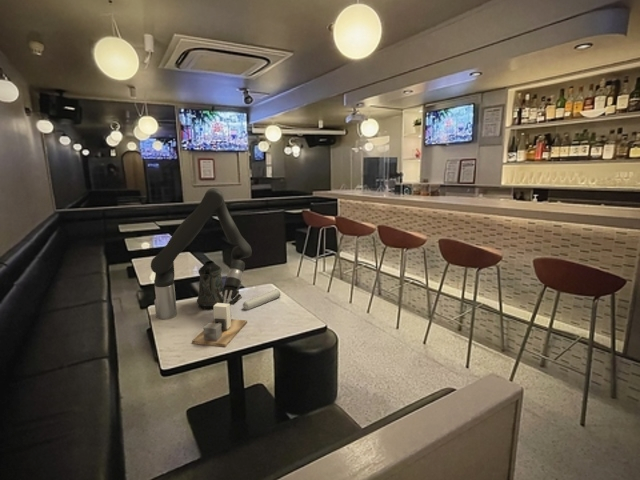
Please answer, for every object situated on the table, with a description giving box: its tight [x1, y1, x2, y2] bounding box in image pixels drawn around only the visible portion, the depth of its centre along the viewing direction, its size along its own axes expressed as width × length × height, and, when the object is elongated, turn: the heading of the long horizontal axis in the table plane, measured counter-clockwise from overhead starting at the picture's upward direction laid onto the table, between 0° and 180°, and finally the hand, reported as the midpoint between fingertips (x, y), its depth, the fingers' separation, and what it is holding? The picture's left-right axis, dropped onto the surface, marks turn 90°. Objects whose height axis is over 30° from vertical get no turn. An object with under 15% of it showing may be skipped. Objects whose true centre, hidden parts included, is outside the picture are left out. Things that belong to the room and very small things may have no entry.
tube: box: [242, 288, 281, 311], centre depth 201 cm, size 5×5×25 cm
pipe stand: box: [191, 313, 248, 348], centre depth 166 cm, size 16×24×7 cm, turn 169°
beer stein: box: [196, 260, 224, 311], centre depth 196 cm, size 16×19×25 cm
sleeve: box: [213, 303, 232, 329], centre depth 167 cm, size 6×4×11 cm, turn 79°
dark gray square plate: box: [213, 318, 226, 330], centre depth 166 cm, size 5×1×5 cm, turn 79°
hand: (224, 312), depth 170 cm, fingers closed
